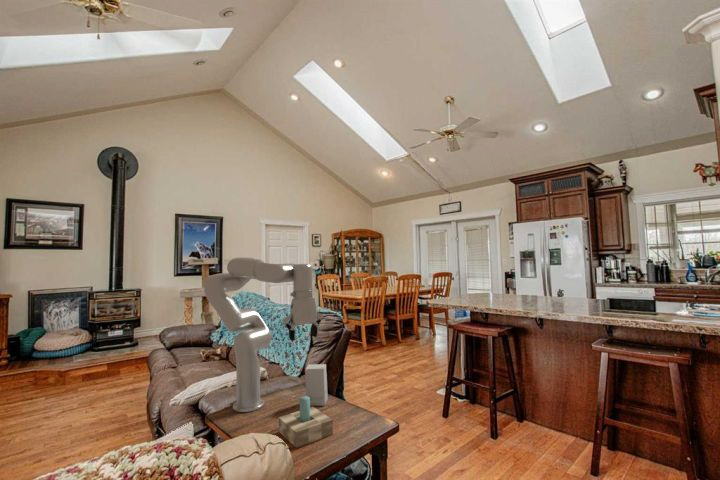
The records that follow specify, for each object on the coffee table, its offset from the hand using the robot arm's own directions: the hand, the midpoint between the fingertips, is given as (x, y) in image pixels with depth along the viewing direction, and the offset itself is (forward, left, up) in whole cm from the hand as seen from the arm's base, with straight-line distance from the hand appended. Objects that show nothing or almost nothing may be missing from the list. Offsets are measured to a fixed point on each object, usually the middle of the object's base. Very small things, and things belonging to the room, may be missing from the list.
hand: (303, 338), depth 137 cm
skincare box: (-8, +10, -30) cm, 33 cm away
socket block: (+12, -6, -30) cm, 33 cm away
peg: (+12, -6, -30) cm, 33 cm away
